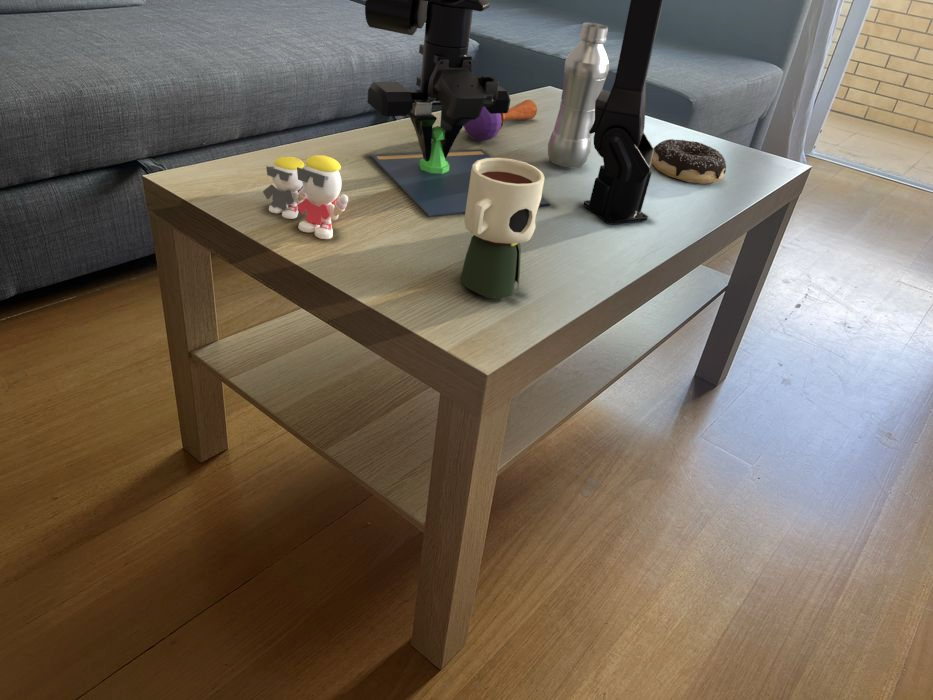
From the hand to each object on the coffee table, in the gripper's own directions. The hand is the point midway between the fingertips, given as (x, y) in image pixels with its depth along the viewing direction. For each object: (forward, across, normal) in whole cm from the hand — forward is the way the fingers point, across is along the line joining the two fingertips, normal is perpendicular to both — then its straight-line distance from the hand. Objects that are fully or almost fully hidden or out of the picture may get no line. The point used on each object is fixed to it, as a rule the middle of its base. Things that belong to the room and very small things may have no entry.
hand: (434, 160), depth 101 cm
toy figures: (+2, -22, -12) cm, 25 cm away
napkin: (+2, +2, -4) cm, 5 cm away
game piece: (+1, 0, 0) cm, 1 cm away
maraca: (+2, +19, +15) cm, 24 cm away
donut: (+2, +41, -7) cm, 42 cm away
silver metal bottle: (+2, +22, -1) cm, 22 cm away
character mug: (+2, -8, -32) cm, 33 cm away
